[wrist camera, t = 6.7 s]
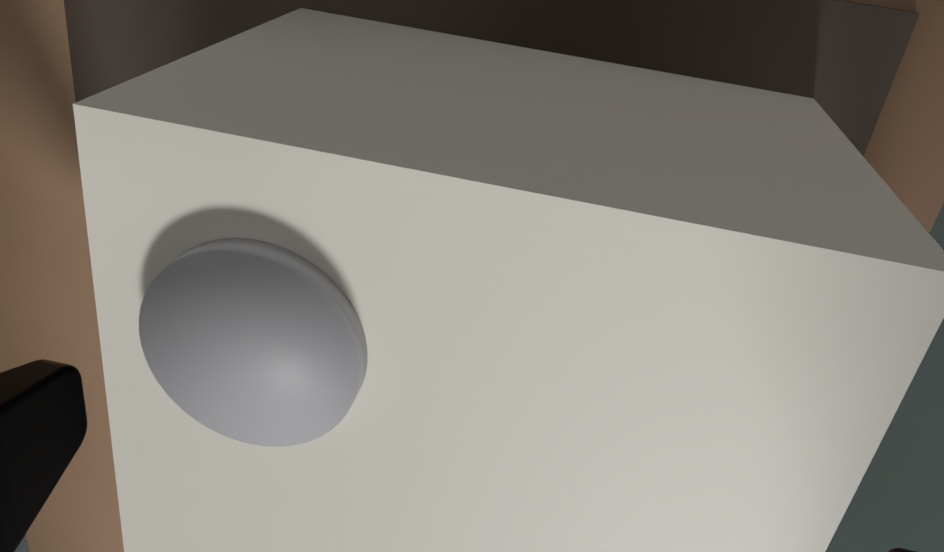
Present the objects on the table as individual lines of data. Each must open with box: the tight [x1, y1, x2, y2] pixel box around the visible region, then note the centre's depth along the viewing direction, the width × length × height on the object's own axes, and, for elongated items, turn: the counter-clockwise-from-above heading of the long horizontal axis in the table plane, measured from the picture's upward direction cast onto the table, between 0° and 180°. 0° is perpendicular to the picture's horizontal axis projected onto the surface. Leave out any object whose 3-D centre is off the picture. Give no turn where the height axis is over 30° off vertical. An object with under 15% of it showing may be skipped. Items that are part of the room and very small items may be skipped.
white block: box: [73, 8, 944, 552], centre depth 8 cm, size 6×9×4 cm, turn 172°
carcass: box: [0, 0, 944, 552], centre depth 11 cm, size 12×14×5 cm
